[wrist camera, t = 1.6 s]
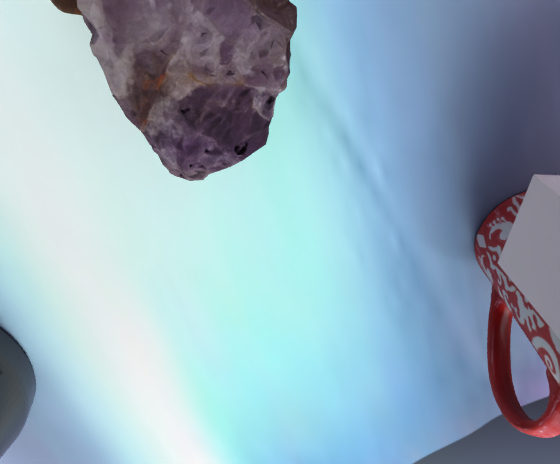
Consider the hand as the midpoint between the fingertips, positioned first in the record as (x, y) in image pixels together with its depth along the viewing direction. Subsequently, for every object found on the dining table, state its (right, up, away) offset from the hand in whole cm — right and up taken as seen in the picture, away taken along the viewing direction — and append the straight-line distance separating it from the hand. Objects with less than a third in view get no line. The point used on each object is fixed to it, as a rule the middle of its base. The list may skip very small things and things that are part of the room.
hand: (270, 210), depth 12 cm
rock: (-5, +11, +14) cm, 18 cm away
